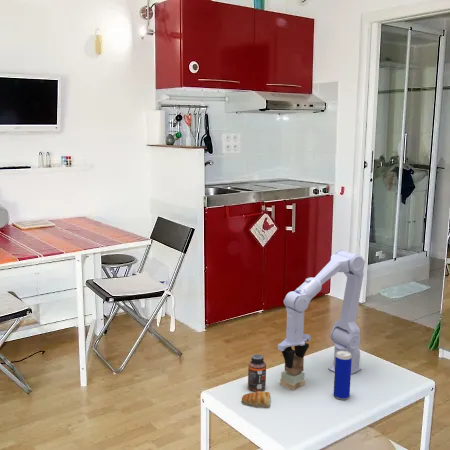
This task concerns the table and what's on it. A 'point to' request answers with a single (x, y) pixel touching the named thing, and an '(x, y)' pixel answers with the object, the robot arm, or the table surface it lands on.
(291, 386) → the tower base
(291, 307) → the robot arm
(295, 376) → the tower top
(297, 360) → the walnut cube
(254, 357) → the supplement bottle
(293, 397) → the table surface
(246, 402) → the pastry
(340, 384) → the beverage can
